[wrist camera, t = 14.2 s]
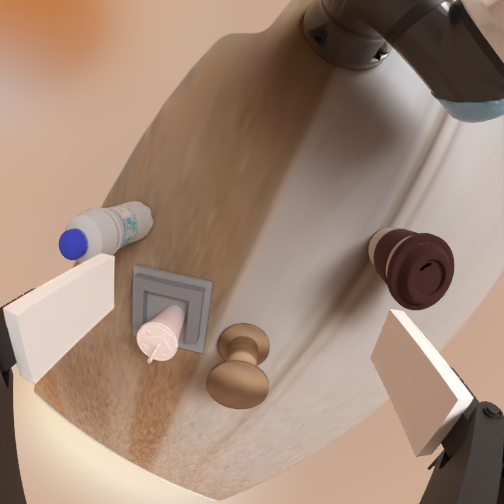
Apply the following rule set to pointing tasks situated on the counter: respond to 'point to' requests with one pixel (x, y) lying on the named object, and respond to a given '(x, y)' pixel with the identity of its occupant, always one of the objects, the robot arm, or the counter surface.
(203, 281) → the notch board
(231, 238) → the counter surface
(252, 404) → the bobbin
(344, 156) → the counter surface
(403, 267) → the coffee cup
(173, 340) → the smoothie
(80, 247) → the bottle
